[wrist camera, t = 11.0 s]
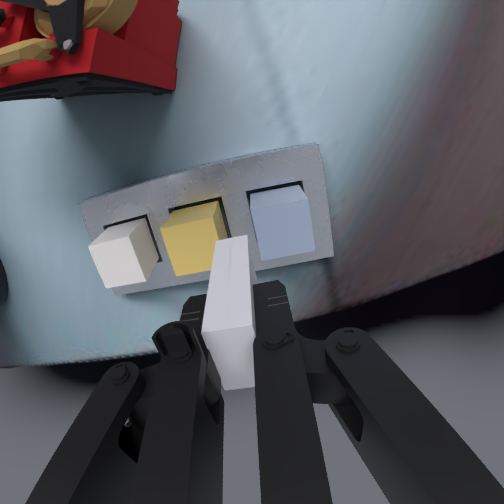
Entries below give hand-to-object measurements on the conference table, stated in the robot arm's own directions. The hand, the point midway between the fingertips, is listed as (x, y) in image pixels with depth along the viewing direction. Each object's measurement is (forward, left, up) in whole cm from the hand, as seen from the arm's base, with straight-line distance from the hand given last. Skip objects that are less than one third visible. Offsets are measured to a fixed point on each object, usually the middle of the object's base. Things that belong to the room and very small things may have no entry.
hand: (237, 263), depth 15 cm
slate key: (+3, -3, -16) cm, 17 cm away
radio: (-10, +18, -18) cm, 27 cm away
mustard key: (-5, -3, -16) cm, 17 cm away
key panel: (-5, -3, -18) cm, 19 cm away
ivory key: (-13, -3, -16) cm, 21 cm away
